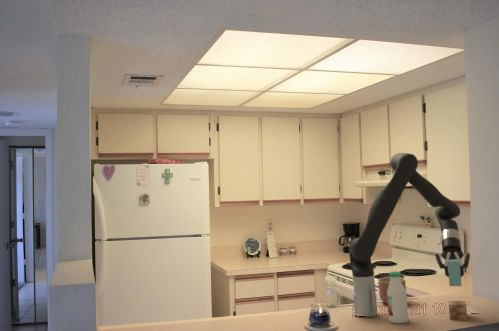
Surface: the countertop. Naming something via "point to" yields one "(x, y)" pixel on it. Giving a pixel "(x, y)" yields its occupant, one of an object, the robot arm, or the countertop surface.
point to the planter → (386, 287)
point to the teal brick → (454, 272)
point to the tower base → (458, 316)
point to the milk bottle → (397, 299)
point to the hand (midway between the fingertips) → (454, 275)
